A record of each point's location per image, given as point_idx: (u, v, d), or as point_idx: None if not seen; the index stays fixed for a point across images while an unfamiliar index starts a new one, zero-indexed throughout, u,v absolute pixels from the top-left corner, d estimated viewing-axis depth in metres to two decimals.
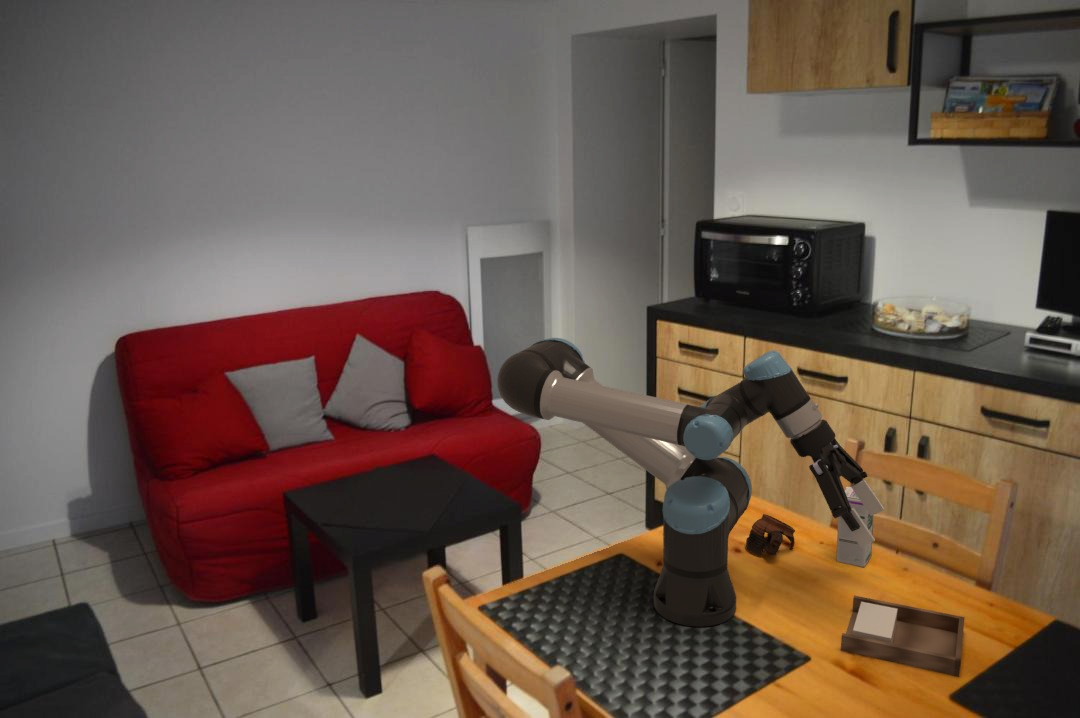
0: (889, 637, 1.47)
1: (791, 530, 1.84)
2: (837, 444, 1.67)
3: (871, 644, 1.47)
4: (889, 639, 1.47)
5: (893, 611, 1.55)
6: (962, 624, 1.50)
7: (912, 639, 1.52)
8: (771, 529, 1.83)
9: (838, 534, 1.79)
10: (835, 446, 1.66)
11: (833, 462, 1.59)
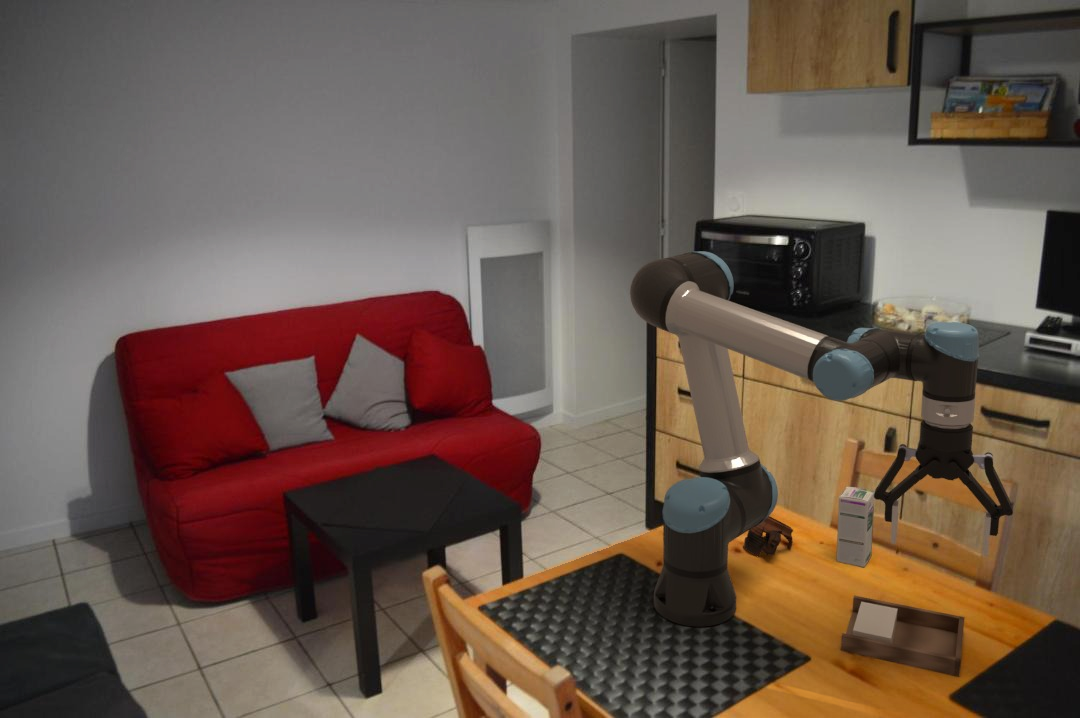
0: (889, 637, 1.47)
1: (789, 530, 1.84)
2: (987, 467, 1.38)
3: (871, 644, 1.47)
4: (889, 639, 1.47)
5: (893, 611, 1.55)
6: (962, 624, 1.50)
7: (912, 639, 1.52)
8: (769, 529, 1.83)
9: (838, 534, 1.79)
10: (981, 465, 1.39)
11: (925, 465, 1.41)
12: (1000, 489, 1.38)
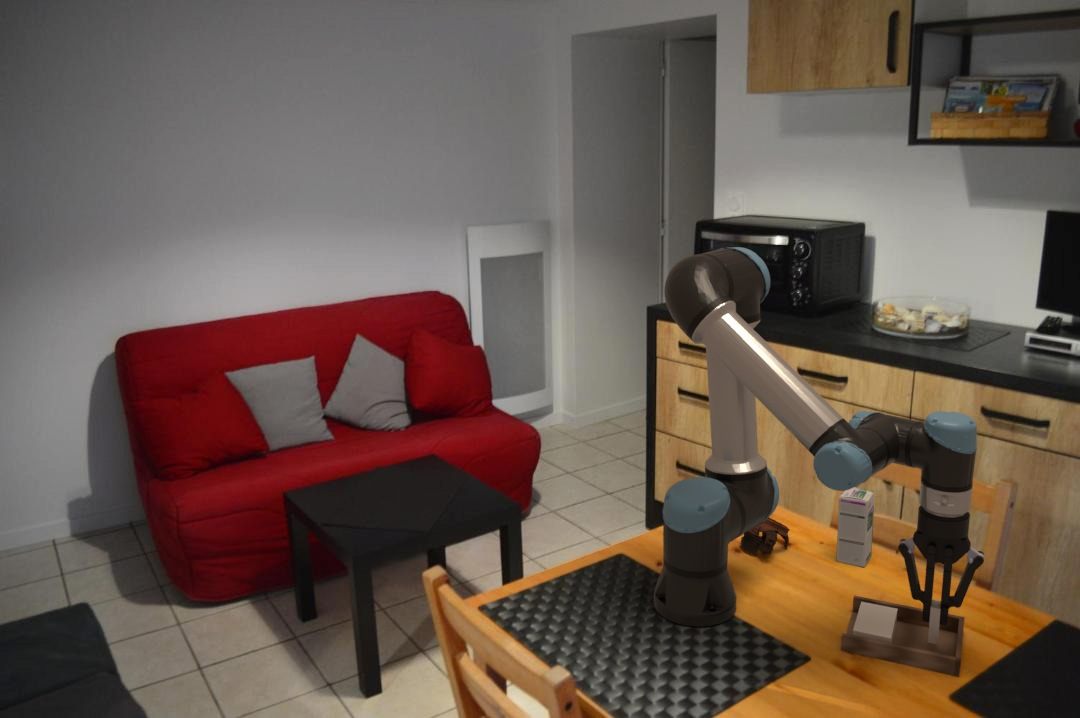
0: (889, 637, 1.47)
1: (785, 529, 1.85)
2: (974, 564, 1.42)
3: (871, 644, 1.47)
4: (889, 639, 1.47)
5: (893, 611, 1.55)
6: (962, 624, 1.50)
7: (912, 639, 1.52)
8: (766, 528, 1.84)
9: (838, 534, 1.79)
10: (970, 559, 1.42)
11: (927, 554, 1.44)
12: (967, 585, 1.43)
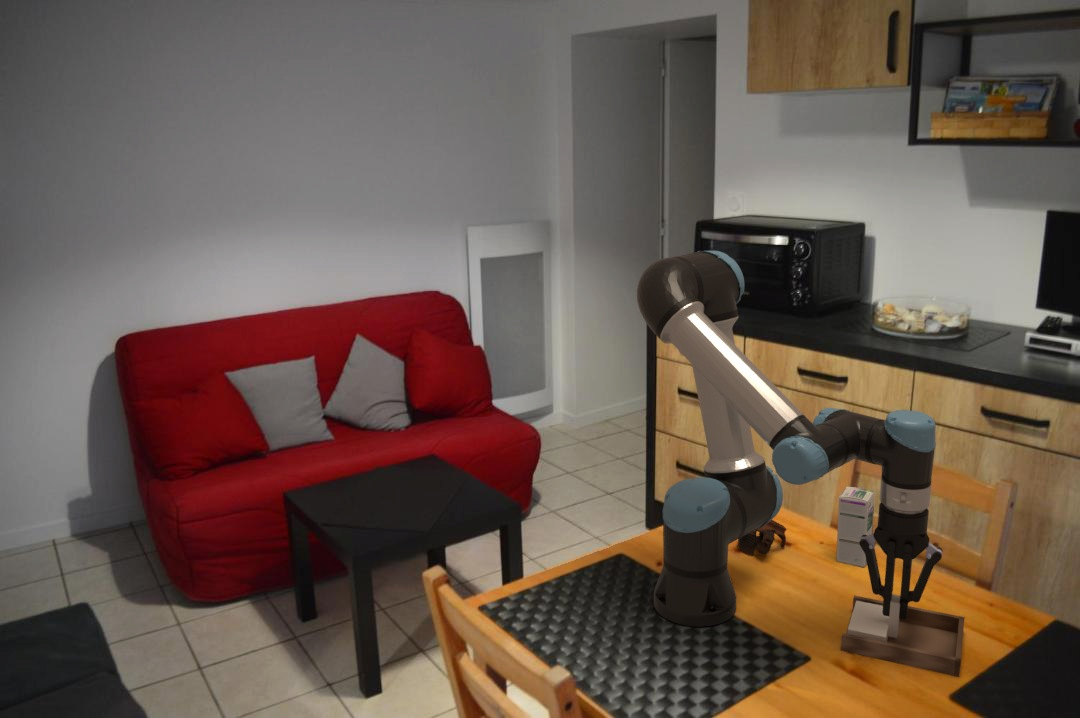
0: (884, 636, 1.48)
1: (782, 529, 1.85)
2: (932, 559, 1.45)
3: (871, 644, 1.47)
4: (884, 638, 1.47)
5: None
6: (962, 624, 1.50)
7: (912, 639, 1.52)
8: (763, 528, 1.84)
9: (838, 534, 1.79)
10: (928, 555, 1.45)
11: (887, 550, 1.47)
12: (926, 580, 1.46)
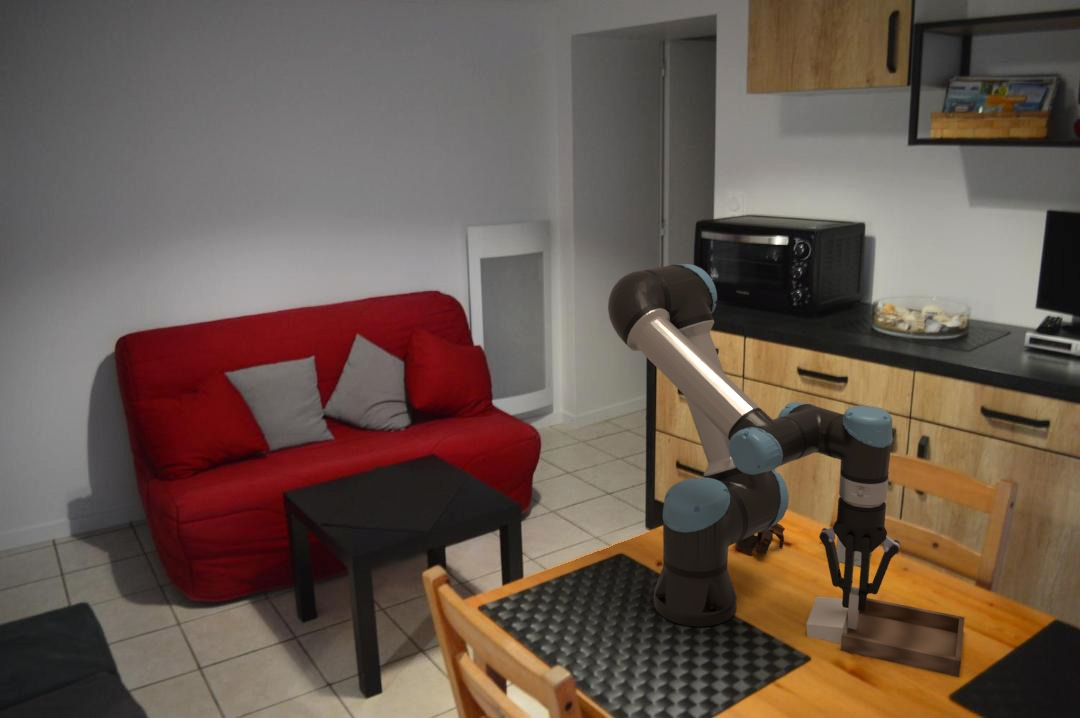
0: (841, 627, 1.51)
1: (781, 528, 1.85)
2: (889, 552, 1.48)
3: (871, 644, 1.47)
4: (841, 629, 1.50)
5: None
6: (962, 624, 1.50)
7: (912, 639, 1.52)
8: None
9: None
10: (886, 548, 1.48)
11: (846, 543, 1.50)
12: (883, 573, 1.49)
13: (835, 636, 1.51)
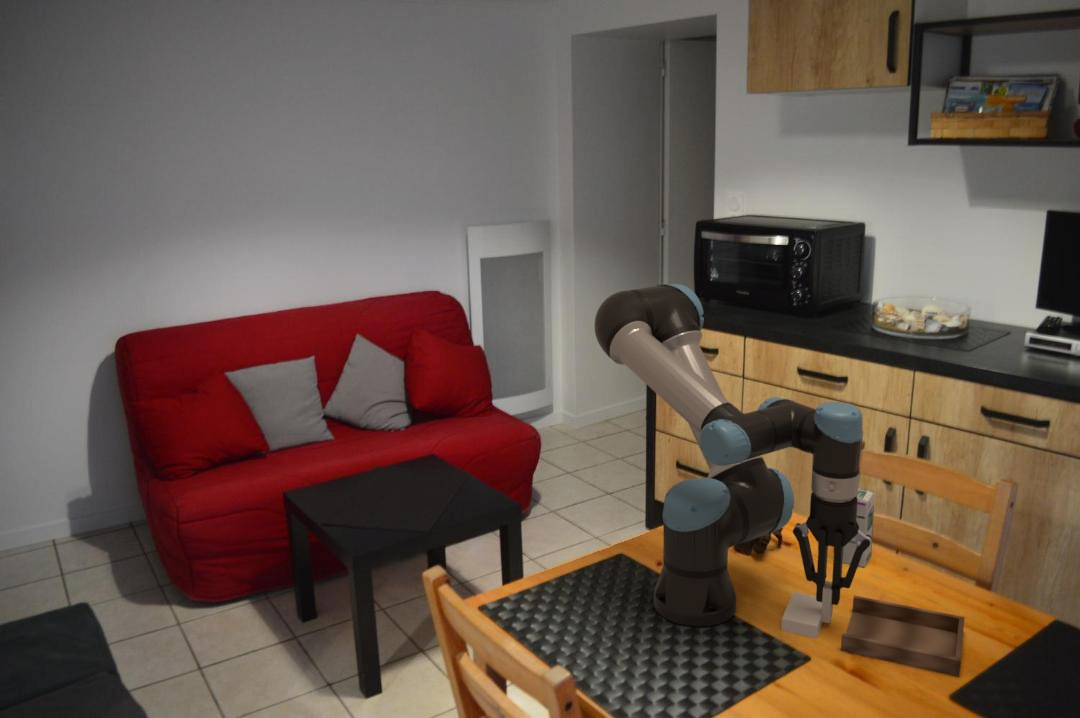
0: (816, 625, 1.53)
1: None
2: (861, 546, 1.49)
3: (871, 644, 1.47)
4: (816, 627, 1.52)
5: None
6: (962, 624, 1.50)
7: (912, 639, 1.52)
8: None
9: None
10: (857, 542, 1.50)
11: (818, 537, 1.52)
12: (855, 567, 1.51)
13: (809, 633, 1.53)
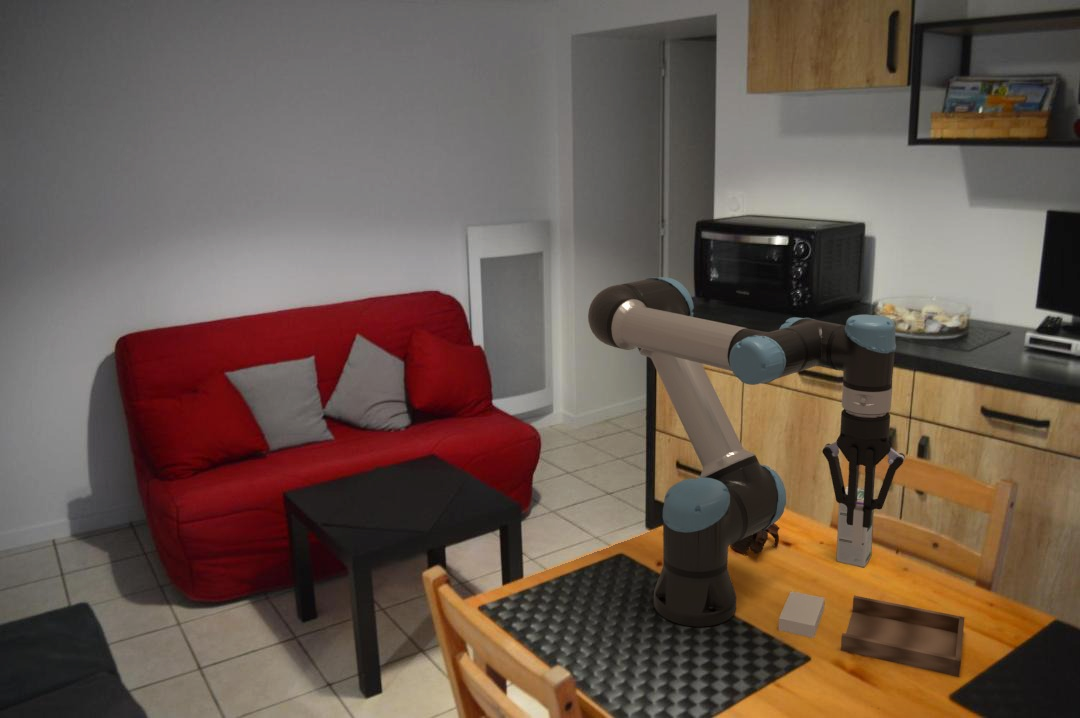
0: (812, 625, 1.53)
1: (776, 528, 1.85)
2: (893, 464, 1.44)
3: (871, 644, 1.47)
4: (812, 627, 1.53)
5: (820, 600, 1.60)
6: (962, 624, 1.50)
7: (912, 639, 1.52)
8: None
9: (838, 534, 1.79)
10: (890, 460, 1.45)
11: (849, 456, 1.47)
12: (888, 486, 1.46)
13: (806, 632, 1.53)
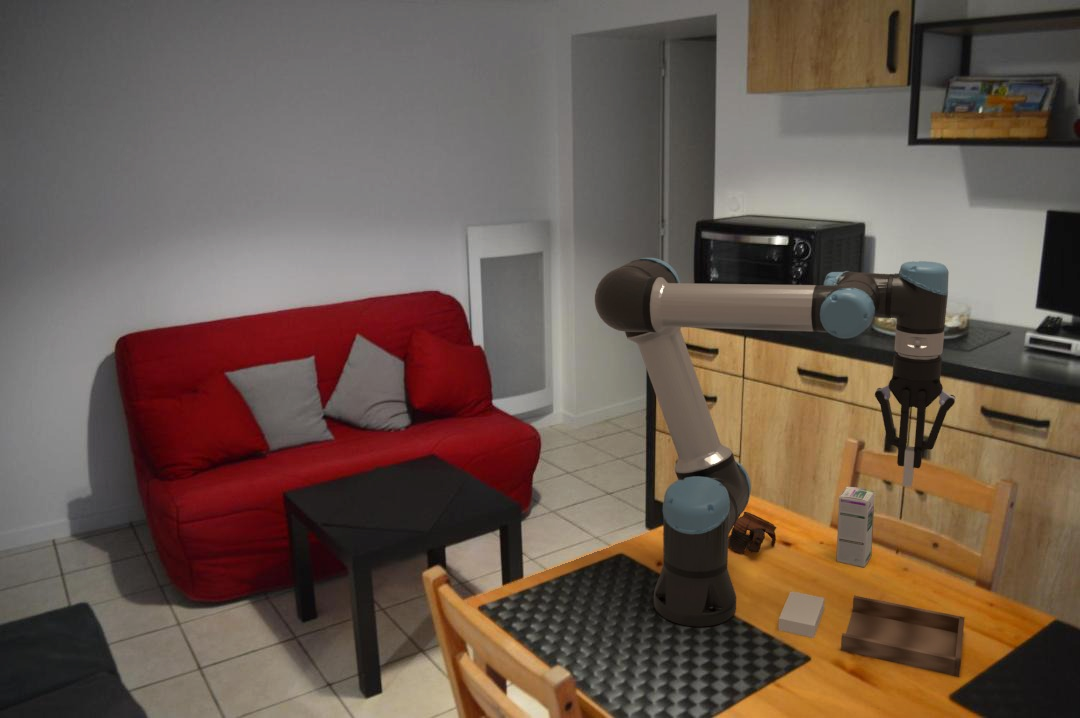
0: (812, 625, 1.53)
1: (772, 527, 1.86)
2: (945, 405, 1.50)
3: (871, 644, 1.47)
4: (812, 627, 1.53)
5: (820, 600, 1.60)
6: (962, 624, 1.50)
7: (912, 639, 1.52)
8: (753, 526, 1.85)
9: (838, 534, 1.79)
10: (941, 401, 1.50)
11: (901, 399, 1.53)
12: (939, 427, 1.51)
13: (806, 632, 1.53)
